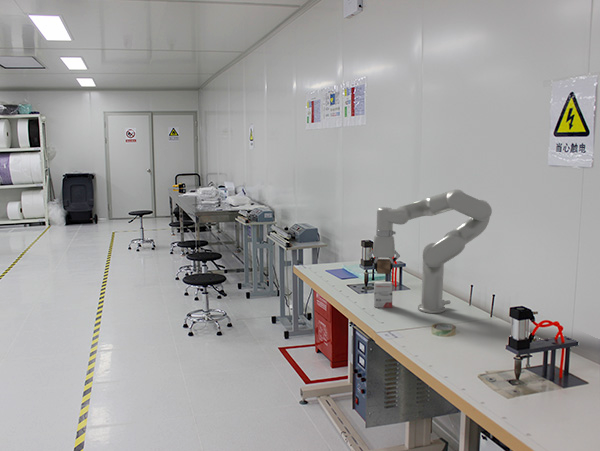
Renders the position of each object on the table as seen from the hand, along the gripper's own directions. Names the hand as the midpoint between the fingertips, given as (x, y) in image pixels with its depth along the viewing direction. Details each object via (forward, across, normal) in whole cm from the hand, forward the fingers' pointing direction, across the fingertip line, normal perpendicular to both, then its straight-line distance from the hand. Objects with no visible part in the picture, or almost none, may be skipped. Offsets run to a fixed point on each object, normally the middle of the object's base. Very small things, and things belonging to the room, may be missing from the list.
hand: (383, 270), depth 256 cm
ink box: (+18, 0, 0) cm, 18 cm away
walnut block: (+1, 0, 0) cm, 1 cm away
